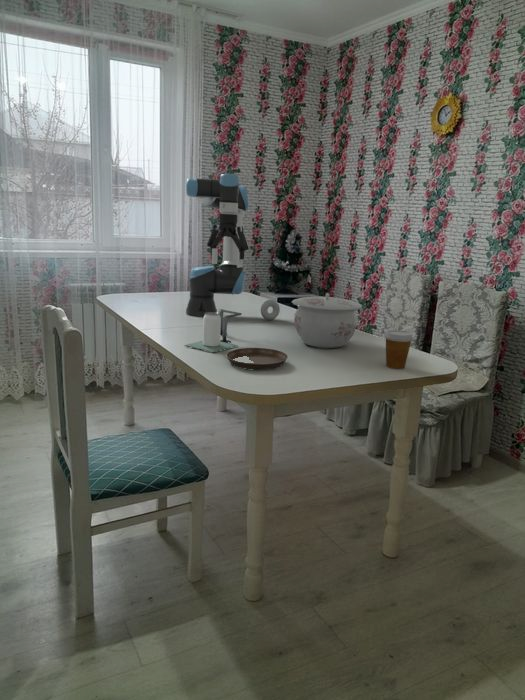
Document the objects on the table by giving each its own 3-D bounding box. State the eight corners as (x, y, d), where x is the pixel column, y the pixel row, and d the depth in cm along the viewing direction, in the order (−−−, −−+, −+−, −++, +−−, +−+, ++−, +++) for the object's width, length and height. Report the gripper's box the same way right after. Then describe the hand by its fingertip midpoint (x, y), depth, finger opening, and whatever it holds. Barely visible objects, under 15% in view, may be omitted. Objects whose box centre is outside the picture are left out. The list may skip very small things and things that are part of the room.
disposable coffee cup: (377, 362, 190) (381, 329, 187) (404, 363, 191) (407, 330, 188) (386, 370, 181) (389, 335, 178) (413, 370, 182) (417, 336, 179)
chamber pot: (313, 355, 195) (317, 299, 190) (276, 339, 219) (279, 288, 214) (374, 350, 208) (379, 297, 203) (333, 335, 232) (337, 287, 227)
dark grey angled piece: (198, 338, 214) (198, 312, 212) (220, 333, 225) (220, 308, 223) (225, 343, 207) (225, 317, 204) (246, 338, 218) (247, 313, 215)
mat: (184, 346, 200) (184, 344, 199) (209, 340, 211) (209, 339, 211) (213, 353, 192) (213, 351, 192) (237, 346, 203) (237, 345, 203)
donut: (277, 319, 262) (278, 298, 260) (280, 320, 259) (281, 299, 257) (258, 319, 258) (259, 299, 255) (262, 321, 255) (263, 300, 252)
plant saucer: (239, 375, 168) (239, 364, 168) (217, 358, 187) (218, 349, 186) (297, 370, 177) (298, 360, 176) (271, 354, 195) (272, 346, 194)
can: (199, 345, 199) (200, 313, 196) (207, 342, 205) (208, 311, 202) (215, 347, 197) (216, 315, 194) (222, 344, 203) (223, 313, 200)
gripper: (199, 211, 224) (198, 263, 229) (247, 215, 210) (245, 269, 216) (211, 212, 230) (210, 262, 235) (258, 215, 216) (256, 268, 222)
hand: (226, 265), depth 226 cm, fingers open, 13 cm apart
